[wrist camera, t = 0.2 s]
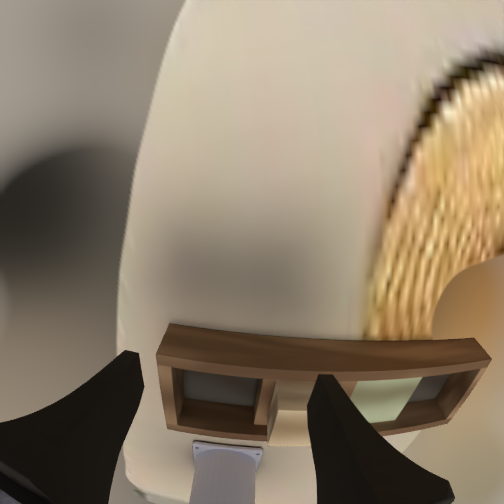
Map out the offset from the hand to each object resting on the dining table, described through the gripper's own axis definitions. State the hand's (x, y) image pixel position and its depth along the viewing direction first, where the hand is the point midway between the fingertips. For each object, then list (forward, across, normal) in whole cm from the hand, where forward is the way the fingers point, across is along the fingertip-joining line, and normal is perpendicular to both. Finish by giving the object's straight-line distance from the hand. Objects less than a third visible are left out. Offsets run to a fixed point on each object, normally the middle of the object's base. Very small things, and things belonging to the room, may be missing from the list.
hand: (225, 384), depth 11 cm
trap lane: (+10, -10, +9) cm, 16 cm away
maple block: (+7, -6, +9) cm, 13 cm away
